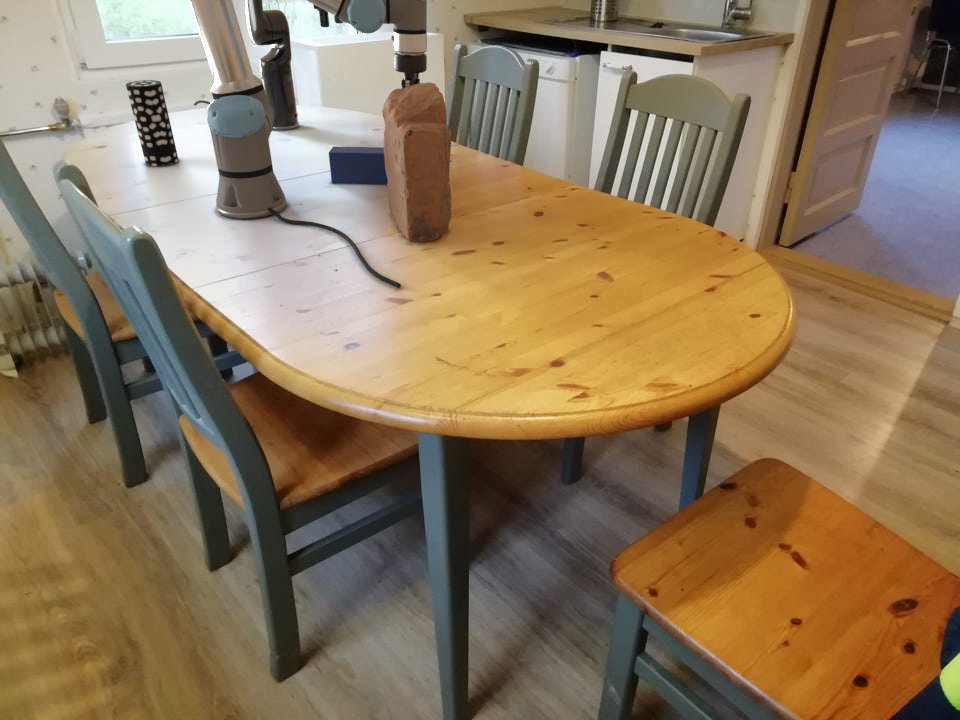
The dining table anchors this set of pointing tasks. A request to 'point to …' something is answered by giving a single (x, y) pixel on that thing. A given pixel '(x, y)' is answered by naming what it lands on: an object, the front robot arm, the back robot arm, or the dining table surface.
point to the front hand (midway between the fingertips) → (411, 145)
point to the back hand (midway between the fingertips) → (332, 25)
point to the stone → (418, 161)
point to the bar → (357, 165)
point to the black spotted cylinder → (152, 122)
